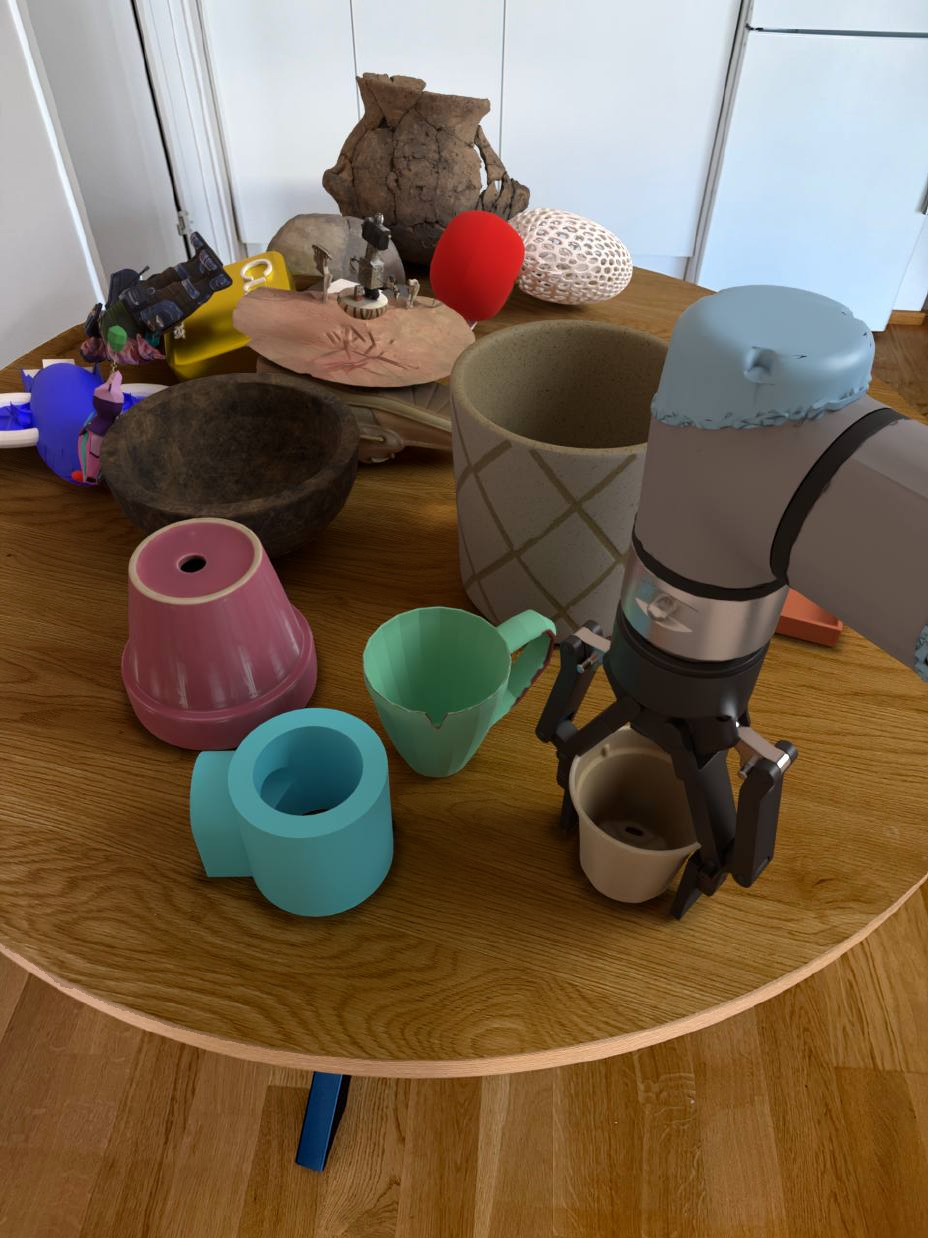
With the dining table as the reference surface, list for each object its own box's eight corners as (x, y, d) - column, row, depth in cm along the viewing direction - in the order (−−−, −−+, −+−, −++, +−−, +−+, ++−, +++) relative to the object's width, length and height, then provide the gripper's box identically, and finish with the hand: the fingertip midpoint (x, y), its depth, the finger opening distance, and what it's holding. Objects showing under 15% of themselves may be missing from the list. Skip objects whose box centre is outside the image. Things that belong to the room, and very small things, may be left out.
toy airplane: (-71, 465, 79) (-57, 514, 82) (221, 443, 88) (223, 488, 92) (-66, 342, 95) (-55, 388, 98) (181, 334, 104) (184, 376, 107)
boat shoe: (510, 399, 93) (492, 470, 97) (279, 337, 94) (272, 409, 98) (496, 427, 85) (478, 503, 89) (246, 359, 86) (239, 436, 91)
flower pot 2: (680, 799, 64) (705, 720, 58) (715, 924, 57) (747, 851, 51) (548, 805, 63) (559, 726, 57) (567, 932, 57) (582, 859, 51)
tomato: (467, 173, 102) (550, 215, 103) (443, 241, 113) (519, 278, 114) (430, 251, 98) (518, 294, 99) (409, 314, 109) (488, 352, 110)
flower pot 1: (289, 632, 57) (308, 754, 66) (312, 496, 67) (326, 619, 76) (60, 629, 57) (110, 753, 66) (118, 493, 67) (154, 617, 76)
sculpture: (509, 327, 100) (537, 183, 89) (406, 442, 85) (424, 285, 73) (314, 252, 105) (316, 106, 93) (182, 348, 90) (165, 187, 78)
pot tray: (844, 564, 82) (851, 547, 81) (834, 648, 75) (842, 630, 73) (719, 534, 85) (724, 517, 84) (697, 612, 78) (702, 595, 76)
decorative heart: (568, 322, 108) (631, 319, 121) (595, 227, 102) (658, 235, 116) (450, 277, 115) (521, 278, 128) (470, 187, 110) (542, 198, 123)
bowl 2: (414, 227, 121) (407, 291, 124) (281, 207, 120) (277, 272, 123) (408, 221, 104) (400, 295, 107) (253, 198, 103) (250, 273, 106)
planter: (695, 650, 74) (754, 444, 60) (465, 672, 72) (470, 463, 58) (632, 508, 88) (667, 312, 74) (436, 523, 86) (434, 324, 72)
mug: (417, 831, 62) (413, 739, 55) (345, 736, 67) (334, 642, 60) (582, 736, 68) (598, 642, 61) (504, 656, 74) (510, 562, 67)
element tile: (175, 315, 109) (156, 282, 105) (293, 275, 109) (279, 241, 105) (184, 399, 101) (164, 367, 97) (312, 356, 101) (296, 322, 96)
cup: (199, 919, 57) (169, 840, 51) (223, 792, 64) (199, 709, 57) (391, 915, 57) (385, 836, 51) (395, 790, 64) (390, 707, 58)
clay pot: (285, 235, 121) (303, 49, 111) (392, 238, 140) (416, 78, 129) (436, 284, 111) (471, 84, 101) (529, 280, 130) (567, 111, 119)
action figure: (214, 265, 88) (72, 381, 90) (256, 316, 93) (121, 424, 95) (172, 194, 101) (49, 296, 103) (211, 241, 106) (93, 338, 108)
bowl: (243, 648, 73) (222, 553, 66) (77, 541, 83) (43, 448, 76) (414, 517, 86) (412, 426, 79) (254, 436, 95) (239, 348, 88)
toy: (161, 293, 85) (133, 436, 93) (115, 279, 84) (91, 425, 91) (142, 345, 73) (111, 506, 80) (89, 330, 72) (62, 495, 79)
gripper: (483, 549, 47) (473, 799, 63) (862, 785, 37) (736, 1012, 53) (574, 489, 51) (543, 738, 67) (938, 687, 41) (800, 926, 57)
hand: (628, 859), depth 60 cm, fingers closed on flower pot 2, 8 cm apart
